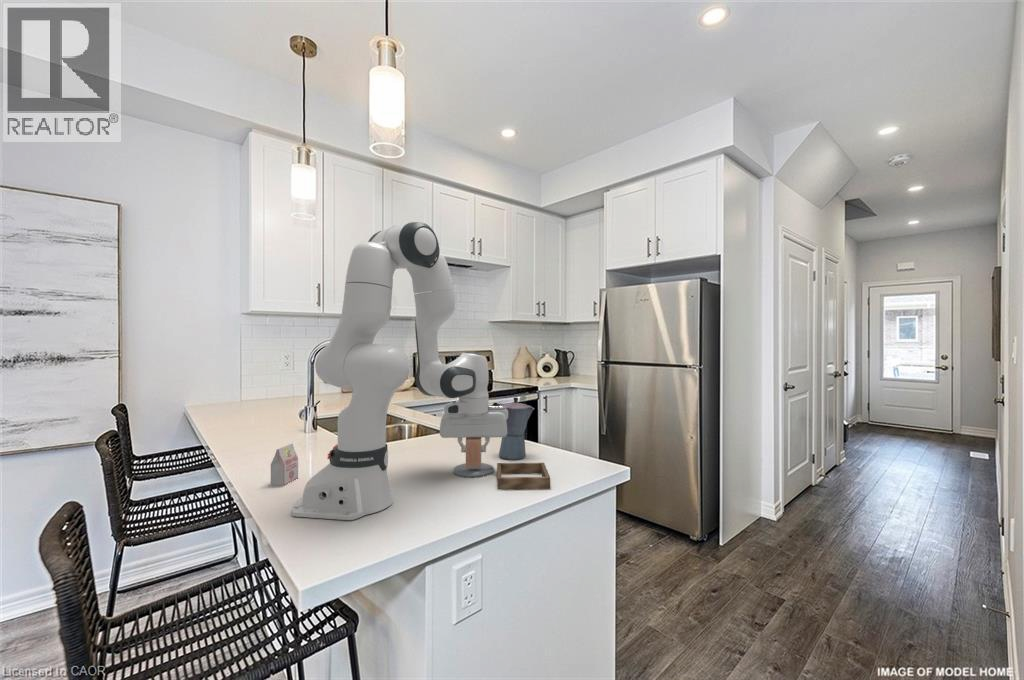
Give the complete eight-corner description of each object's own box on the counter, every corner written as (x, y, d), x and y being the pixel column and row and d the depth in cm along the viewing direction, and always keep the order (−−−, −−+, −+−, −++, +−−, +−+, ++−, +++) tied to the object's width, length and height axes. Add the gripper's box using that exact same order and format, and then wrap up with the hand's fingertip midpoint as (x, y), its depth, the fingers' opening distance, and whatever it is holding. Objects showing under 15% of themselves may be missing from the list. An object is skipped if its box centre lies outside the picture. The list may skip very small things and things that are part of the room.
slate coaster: (451, 477, 128) (451, 475, 128) (455, 465, 140) (455, 462, 140) (493, 477, 129) (493, 474, 129) (493, 465, 141) (493, 462, 141)
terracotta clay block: (466, 460, 137) (466, 434, 137) (481, 460, 138) (481, 434, 138) (465, 468, 130) (465, 441, 130) (480, 468, 130) (481, 440, 130)
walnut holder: (497, 489, 119) (497, 478, 119) (497, 473, 133) (497, 463, 133) (550, 489, 119) (550, 477, 119) (544, 472, 133) (544, 462, 133)
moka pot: (534, 461, 145) (534, 399, 145) (487, 460, 145) (487, 399, 145) (533, 453, 155) (534, 395, 154) (489, 452, 155) (489, 395, 155)
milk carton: (270, 486, 121) (270, 449, 121) (286, 478, 128) (286, 443, 127) (283, 486, 120) (283, 450, 120) (298, 478, 127) (298, 443, 127)
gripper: (507, 404, 138) (507, 448, 138) (441, 404, 137) (441, 449, 137) (508, 407, 131) (508, 454, 132) (438, 407, 130) (438, 455, 131)
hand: (473, 451), depth 134 cm, fingers closed on terracotta clay block, 4 cm apart
